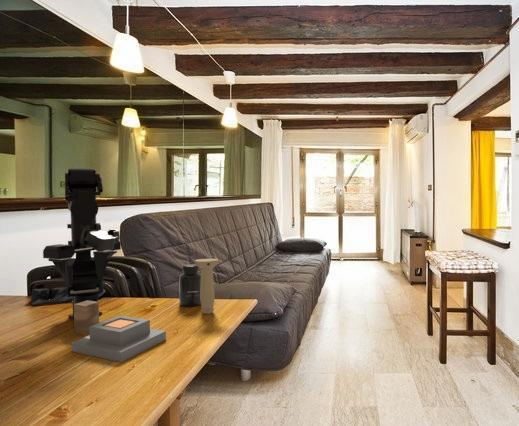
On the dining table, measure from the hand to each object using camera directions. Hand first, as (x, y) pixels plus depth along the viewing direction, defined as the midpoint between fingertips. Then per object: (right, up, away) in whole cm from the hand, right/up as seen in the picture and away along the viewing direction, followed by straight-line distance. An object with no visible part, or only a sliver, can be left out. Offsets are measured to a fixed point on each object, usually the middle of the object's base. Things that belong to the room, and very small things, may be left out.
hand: (85, 282), depth 101 cm
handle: (+28, -11, +15) cm, 34 cm away
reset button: (+12, -10, -10) cm, 18 cm away
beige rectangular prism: (0, -12, +1) cm, 12 cm away
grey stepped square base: (+12, -12, -9) cm, 20 cm away
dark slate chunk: (-20, -12, +34) cm, 41 cm away
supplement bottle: (+22, -11, +25) cm, 35 cm away
